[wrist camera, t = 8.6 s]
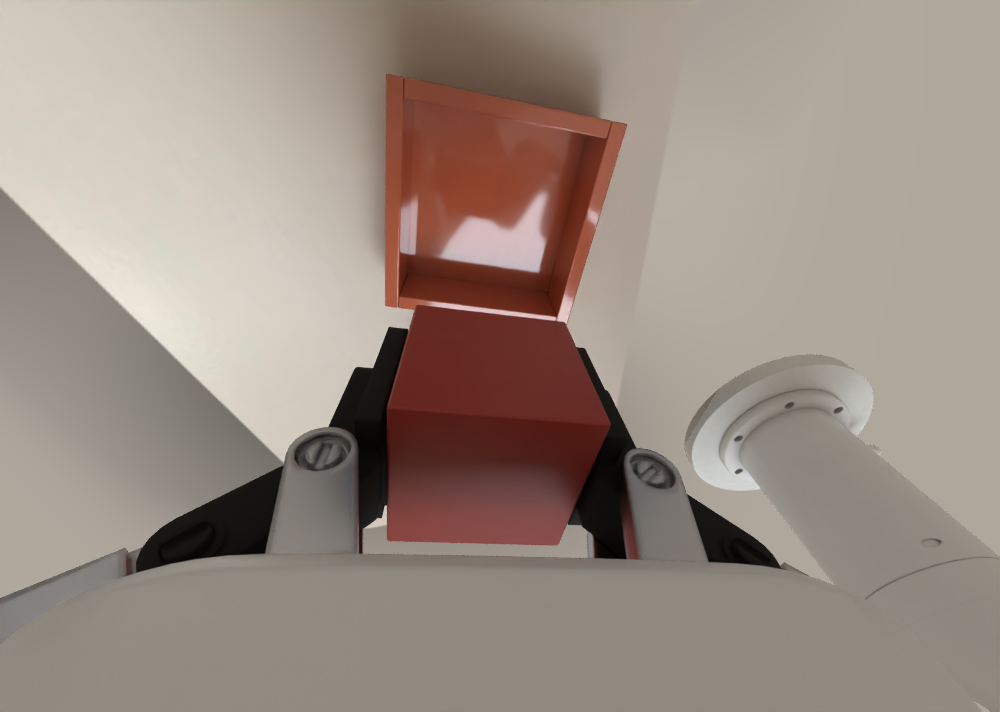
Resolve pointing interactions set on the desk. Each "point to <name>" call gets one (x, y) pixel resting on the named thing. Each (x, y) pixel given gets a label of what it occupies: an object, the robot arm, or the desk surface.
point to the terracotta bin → (490, 200)
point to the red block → (488, 430)
